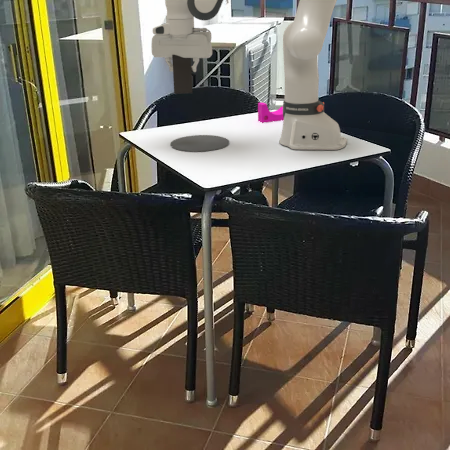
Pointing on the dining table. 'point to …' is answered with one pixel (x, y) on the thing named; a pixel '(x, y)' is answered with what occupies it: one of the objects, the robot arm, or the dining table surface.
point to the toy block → (269, 113)
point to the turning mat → (199, 143)
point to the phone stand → (182, 74)
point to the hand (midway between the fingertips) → (182, 71)
